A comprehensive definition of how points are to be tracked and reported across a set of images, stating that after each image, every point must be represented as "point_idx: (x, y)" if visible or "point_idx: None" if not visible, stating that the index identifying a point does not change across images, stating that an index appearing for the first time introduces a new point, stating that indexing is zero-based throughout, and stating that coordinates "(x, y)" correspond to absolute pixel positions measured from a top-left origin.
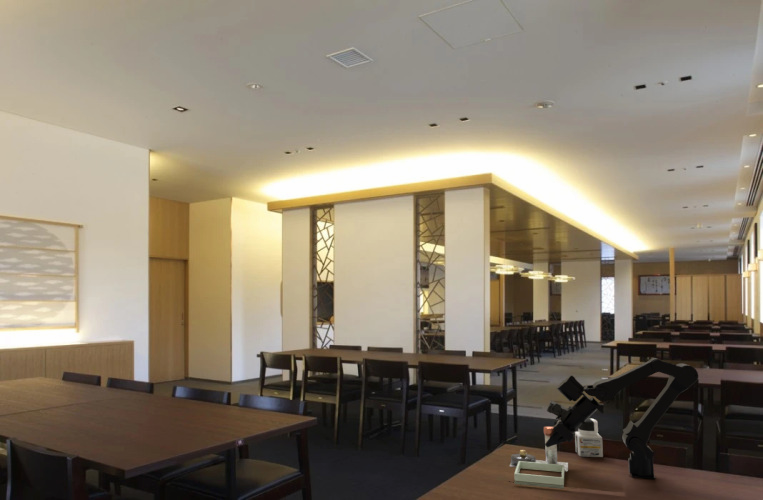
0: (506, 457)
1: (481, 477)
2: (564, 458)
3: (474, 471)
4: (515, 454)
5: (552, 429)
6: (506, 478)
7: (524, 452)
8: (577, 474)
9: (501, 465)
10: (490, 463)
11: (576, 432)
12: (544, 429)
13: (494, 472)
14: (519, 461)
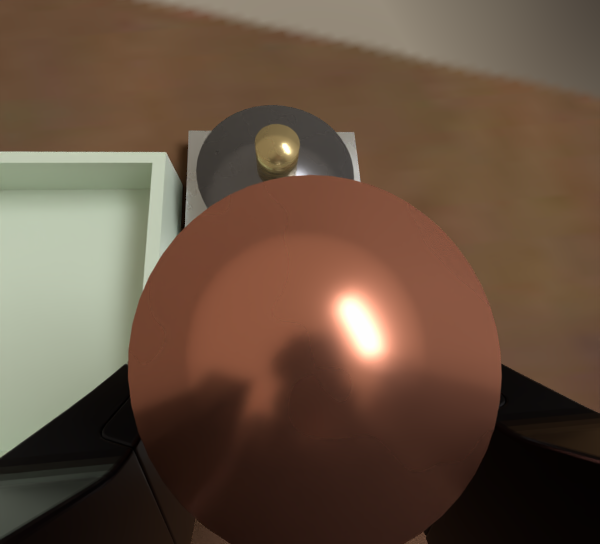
0: (404, 112)
1: (20, 45)
2: None
3: (114, 14)
4: (315, 125)
5: (144, 424)
6: (23, 143)
7: (260, 158)
8: (207, 539)
9: (253, 104)
10: (269, 60)
11: None
12: (231, 213)
13: (119, 86)
14: (156, 157)
